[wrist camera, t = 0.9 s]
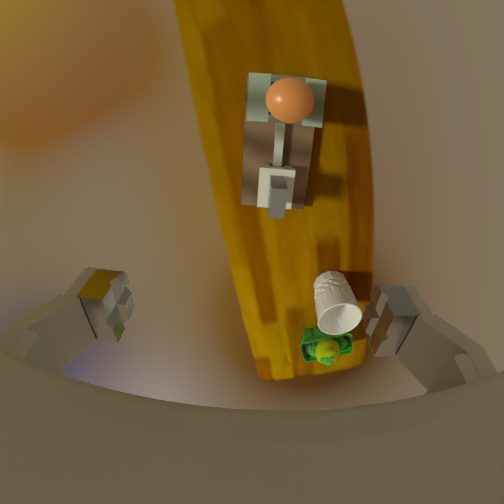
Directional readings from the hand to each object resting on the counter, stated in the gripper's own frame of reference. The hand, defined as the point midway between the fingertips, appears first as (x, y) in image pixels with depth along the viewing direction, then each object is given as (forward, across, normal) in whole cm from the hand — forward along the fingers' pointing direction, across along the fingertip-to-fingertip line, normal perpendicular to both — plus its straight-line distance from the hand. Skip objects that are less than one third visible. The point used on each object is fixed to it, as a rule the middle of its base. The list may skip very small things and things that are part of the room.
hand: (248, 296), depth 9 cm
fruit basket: (+37, -18, +40) cm, 58 cm away
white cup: (+37, -16, +26) cm, 48 cm away
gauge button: (+27, -3, -6) cm, 28 cm away
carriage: (+34, -3, +6) cm, 35 cm away
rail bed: (+36, -3, 0) cm, 36 cm away
